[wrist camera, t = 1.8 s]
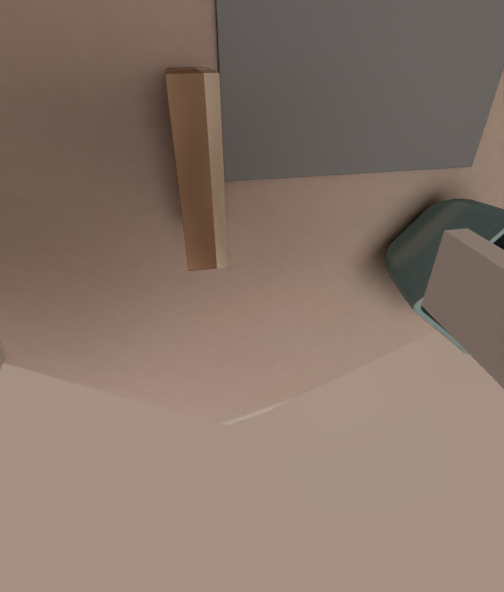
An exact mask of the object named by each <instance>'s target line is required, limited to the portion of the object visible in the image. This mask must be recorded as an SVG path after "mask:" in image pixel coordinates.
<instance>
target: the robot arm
mask: <svg viewBox="0 0 504 592" xmlns="http://www.w3.org/2000/svg"><path fill="white" fill-rule="evenodd" d="M421 306H422V307H423V308H424V309H425V310H426V311H427V312H428V313H429V314H430V315H431V316H432V317H433V318H434V319H435V320H436V321H437V322H438V323H439V324H440V325H441V326H442V327H443V328H444V329H445V330H446V331H447V332H448V333H449V334H450V335H451V336H452V337H453V338H454V339H455V340H456V341H457V342H458V343H459V344H460V345H461V346H462V347H463V348H464V349H465V350H466V351H467V352H468V353H469V354H470V355H471V356H472V357H473V358H474V359H475V360H476V361H477V362H478V363H479V364H480V365H481V366H482V367H483V368H484V369H485V370H486V371H487V372H488V373H489V374H490V375H491V376H492V377H493V378H494V379H495V381H497V382H498V384H499V385H500V386H502V388H503V389H504V250H503V249H501V248H500V247H498V246H496V245H495V244H493V243H491V242H490V241H488V240H486V239H484V238H483V237H481V236H479V235H478V234H476V233H474V232H473V231H471V230H469V229H468V228H465V229H454V230H444V233H443V236H442V240H441V243H440V246H439V249H438V253H437V256H436V259H435V262H434V266H433V269H432V272H431V275H430V279H429V282H428V285H427V288H426V292H425V295H424V298H423V301H422V305H421ZM6 357H7V355H6V353H5V351H4V349H3V347H2V345H1V344H0V367H1V366H2V364H3V362H4V360H5V359H6Z"/></svg>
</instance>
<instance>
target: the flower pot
mask: <svg viewBox="0 0 504 592" xmlns="http://www.w3.org/2000/svg"><path fill="white" fill-rule="evenodd" d="M465 228H468V229H469V230H471V231H473V232H474V233H476V234H478V235H479V236H481V237H483V238H484V239H486V240H488V241H490V242H491V243H493V244H495V245H496V246H498V247H500V248H501V249H503V250H504V209H501V208H498V207H495V206H491V205H488V204H485V203H481V202H478V201H474V200H469V199H451V200H446V201H442V202H439V203H437V204H434V205H432V206H430V207H429V208H427V209H426V210H425V211H424V212H423V213H422V214H421V215H420V216H419V217H418V218H417V219H416V220H415V221H414V222H413V223H412V224H411V225H410V226H409V227H408V228H407V229H405V230H404V231H403V232H402V233H401V234H400V235H399V236H398V237H397V238H396V239H395V240H394V241H393V242H392V243H391V244H390V245H389V247H388V250H387V255H386V264H387V269H388V271H389V274H390V276H391V278H392V280H393V281H394V283H395V284H396V286H397V287H398V289H399V290H400V292H401V293H402V295H403V296H404V298H405V299H406V301H407V302H408V303H409V305H410V306H411V308H412V309H413V311H414V312H415V313H416V314H417V315H419V316H420V317H422V318H423V319H424V320H425V321H427V322H428V323H429V324H430V325H432V326H433V327H434V328H435V329H436V330H438V331H439V332H440V333H441V334H443V335H444V336H445V337H446V338H448V339H449V340H450V341H451V342H452V343H453V344H454V345H456V346H457V347H458V348H459V349H460V350H461V351H462V352H464V353H466V354H469V353H468V352H467V351H466V350H465V349H464V348H463V347H462V346H461V345H460V344H459V343H458V342H457V341H456V340H455V339H454V338H453V337H452V336H451V335H450V334H449V333H448V332H447V331H446V330H445V329H444V328H443V327H442V326H441V325H440V324H439V323H438V322H437V321H436V320H435V319H434V318H433V317H432V316H431V315H430V314H429V313H428V312H427V311H426V310H425V309H424V308H423V307H422V306H421V305H422V301H423V298H424V295H425V292H426V288H427V285H428V282H429V279H430V275H431V272H432V269H433V266H434V262H435V259H436V256H437V253H438V249H439V246H440V243H441V240H442V236H443V233H444V230H454V229H465Z"/></svg>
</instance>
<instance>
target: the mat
mask: <svg viewBox="0 0 504 592" xmlns="http://www.w3.org/2000/svg"><path fill="white" fill-rule="evenodd" d="M215 3H216V23H217V44H218V65H219V76H220V97H221V117H222V138H223V159H224V180H225V181H240V180H257V179H273V178H290V177H307V176H324V175H341V174H358V173H374V172H391V171H408V170H425V169H442V168H458V167H472V164H473V161H474V158H475V155H476V152H477V149H478V145H479V142H480V139H481V136H482V133H483V130H484V127H485V124H486V121H487V118H488V115H489V111H490V108H491V105H492V102H493V99H494V96H495V93H496V90H497V87H498V84H499V81H500V77H501V74H502V71H503V68H504V0H215Z"/></svg>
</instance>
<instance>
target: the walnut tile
mask: <svg viewBox="0 0 504 592" xmlns="http://www.w3.org/2000/svg"><path fill="white" fill-rule="evenodd" d="M165 78H166V86H167V94H168V103H169V111H170V120H171V128H172V136H173V145H174V153H175V162H176V170H177V178H178V187H179V195H180V204H181V212H182V220H183V229H184V237H185V245H186V254H187V262H188V271H194V270H205V269H215V268H226V267H229V264H228V243H227V222H226V201H225V180H224V159H223V138H222V117H221V97H220V76H219V73H218V72H216V71H214V70H211V69H209V68H207V67H184V68H167V69H166V72H165Z"/></svg>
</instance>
